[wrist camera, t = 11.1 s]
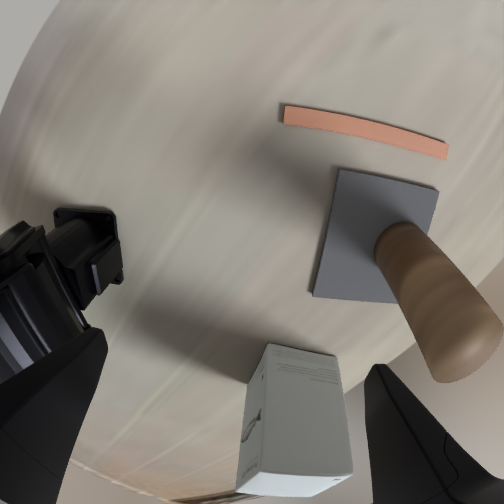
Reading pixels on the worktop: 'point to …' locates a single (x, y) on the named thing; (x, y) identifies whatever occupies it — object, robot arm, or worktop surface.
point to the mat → (366, 233)
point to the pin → (437, 303)
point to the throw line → (364, 130)
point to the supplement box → (294, 426)
